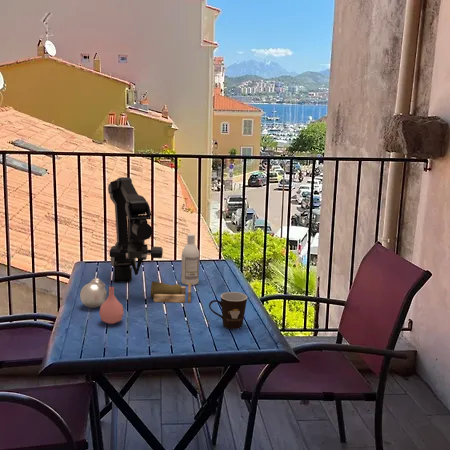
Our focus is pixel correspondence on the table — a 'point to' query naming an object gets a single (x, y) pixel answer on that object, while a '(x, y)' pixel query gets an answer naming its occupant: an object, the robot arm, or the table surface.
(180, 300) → the cradle
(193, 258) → the bath foam
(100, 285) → the silver christmas ornament
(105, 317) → the pink bulb vase
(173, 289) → the cork
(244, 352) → the table surface
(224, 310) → the coffee mug
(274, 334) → the table surface
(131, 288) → the table surface
